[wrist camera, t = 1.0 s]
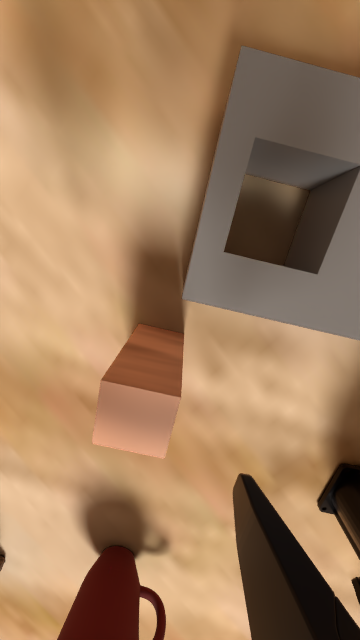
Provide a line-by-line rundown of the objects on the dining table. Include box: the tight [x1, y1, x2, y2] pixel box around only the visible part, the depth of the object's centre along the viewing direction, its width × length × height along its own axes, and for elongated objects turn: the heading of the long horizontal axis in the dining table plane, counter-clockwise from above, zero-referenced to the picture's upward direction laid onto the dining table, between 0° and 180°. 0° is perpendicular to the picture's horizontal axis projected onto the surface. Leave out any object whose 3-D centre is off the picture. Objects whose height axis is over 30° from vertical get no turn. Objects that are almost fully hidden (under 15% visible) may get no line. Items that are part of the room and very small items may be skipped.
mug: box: [57, 546, 166, 640], centre depth 24 cm, size 10×8×10 cm
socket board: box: [182, 46, 360, 340], centre depth 15 cm, size 12×18×5 cm, turn 77°
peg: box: [92, 324, 184, 459], centre depth 16 cm, size 4×4×9 cm
